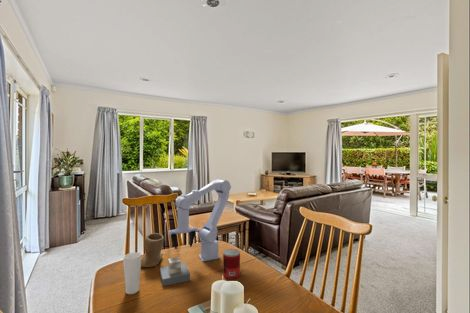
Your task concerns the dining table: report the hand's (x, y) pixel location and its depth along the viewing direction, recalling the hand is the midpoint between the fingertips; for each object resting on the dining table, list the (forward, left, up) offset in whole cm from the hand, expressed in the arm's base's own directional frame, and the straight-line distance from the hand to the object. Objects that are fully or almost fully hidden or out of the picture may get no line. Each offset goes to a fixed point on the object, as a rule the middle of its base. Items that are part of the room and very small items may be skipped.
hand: (183, 247), depth 122 cm
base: (+6, +10, -9) cm, 15 cm away
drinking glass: (+24, +15, -10) cm, 30 cm away
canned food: (-19, +19, -10) cm, 29 cm away
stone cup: (+14, -10, -10) cm, 20 cm away
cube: (+6, +10, -6) cm, 13 cm away
